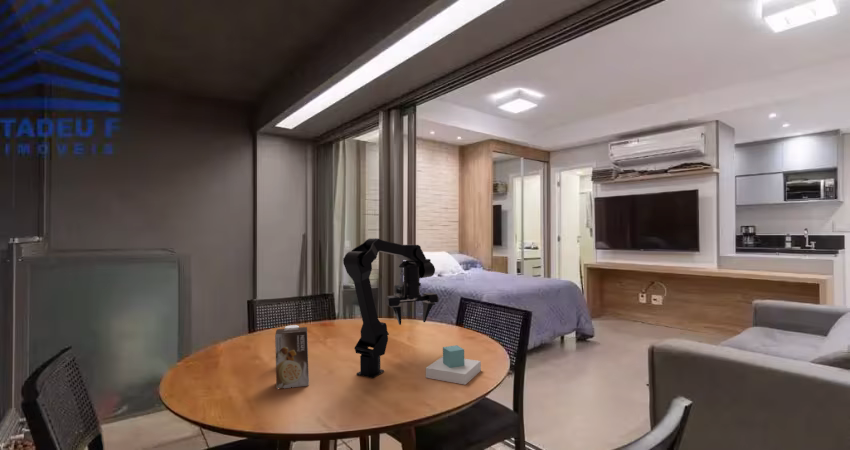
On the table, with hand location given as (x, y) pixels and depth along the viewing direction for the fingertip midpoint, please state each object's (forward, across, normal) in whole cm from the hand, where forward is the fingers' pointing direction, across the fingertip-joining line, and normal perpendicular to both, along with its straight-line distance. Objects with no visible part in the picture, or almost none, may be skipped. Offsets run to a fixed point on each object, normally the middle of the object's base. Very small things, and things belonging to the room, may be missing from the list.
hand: (412, 323), depth 141 cm
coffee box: (+12, +41, +8) cm, 44 cm away
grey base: (+12, -6, +21) cm, 25 cm away
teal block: (+9, -6, +21) cm, 24 cm away
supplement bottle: (+12, +40, -11) cm, 43 cm away
